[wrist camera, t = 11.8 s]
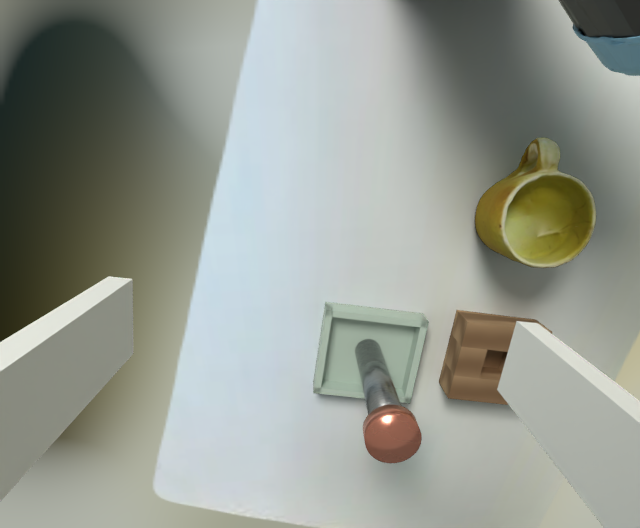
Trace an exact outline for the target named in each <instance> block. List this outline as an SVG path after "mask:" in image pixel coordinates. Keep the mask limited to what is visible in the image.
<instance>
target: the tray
mask: <svg viewBox="0 0 640 528" xmlns="http://www.w3.org/2000/svg"><path fill="white" fill-rule="evenodd" d="M428 323H429V322H428V320H427V319H426V317H425V316H424V315H423V314H421V313H413V312H404V311H396V310H388V309H380V308H371V307H363V306H355V305H346V304H338V303H330V302H325V308H324V315H323V322H322V328H321V335H320V341H319V348H318V355H317V361H316V368H315V375H314V381H313V393H317V394H326V395H336V396H345V397H354V398H364V399H365V396H364V392H363V387H362V383H361V378H360V373H359V369H358V364H357V360H356V355H355V348H356V346H357V344H358V343H359V342H361V341H362V340H365V339H372V340H375V341H376V342H377V343H378V344H379V345H380V347H381V350H382V353H383V356H384V359H385V362H386V364H387V367H388V370H389V373H390V376H391V378H392V381H393V384H394V387H395V390H396V392H397V395H398V398H399V401H400V402H401V403H410V401H411V397H412V392H413V388H414V384H415V379H416V375H417V370H418V366H419V362H420V357H421V353H422V349H423V344H424V340H425V336H426V331H427V327H428Z"/></svg>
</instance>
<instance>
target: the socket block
mask: <svg viewBox="0 0 640 528" xmlns="http://www.w3.org/2000/svg"><path fill="white" fill-rule="evenodd" d="M516 321H522V322H531V323H538V324H540V325H541V326H542V327H544V328H545V329H546V330H547V331H549V332H550V333H551V334H552V331H550V330H549V329H548V328H546V327H545V326H543V325H542V324H541V323H539V322H538V321H537V320H534V319H526V318H518V317H510V316H501V315H493V314H485V313H477V312H469V311H460V310H457V311H456V315H455V319H454V323H453V327H452V331H451V335H450V339H449V343H448V347H447V351H446V355H445V359H444V363H443V367H442V371H441V375H440V379H439V383H440V385H441V387H442V388H443V390H444V392H445V394H446V395H447V397H448V398H450V399H459V400H469V401H478V402H487V403H496V404H505V405H509V404H508V403H507V402H506V401H505V399H504V398H503V397H502V395H501V394H500V393H499V392H498V390H497V388H498V385H499V381H500V378H501V374H502V371H503V367H504V364H505V360H506V357H507V353H508V350H509V346H510V343H511V339H512V336H513V332H514V329H515V325H516Z"/></svg>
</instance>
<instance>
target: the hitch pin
mask: <svg viewBox="0 0 640 528" xmlns="http://www.w3.org/2000/svg"><path fill="white" fill-rule="evenodd" d="M355 355H356V360H357V364H358V369H359V373H360V378H361V383H362V387H363V392H364V396H365V401H366V405H367V410H368V416H367V417H366V419H365V421H364V424H363V434H364V440H365V445H366V448H367V450H368V452H369V453H370V455H371V456H372V457H374V458H375V459H377V460H379V461H381V462H385V463H398V462H402V461H404V460H407V459H408V458H410V457H411V456H413V455H414V454H415V453H416V452H417V450H418V449H419V447H420V444H421V432H420V429H419V426H418V424H417V421H416V419H415V417H414V415H413V414H412V413H411V411H409V410H408V409H407V408H405V407H402V406H401V404H400V401H399V398H398V395H397V392H396V390H395V387H394V384H393V381H392V378H391V376H390V373H389V370H388V367H387V364H386V362H385V359H384V356H383V353H382V350H381V347H380V345H379V344H378V343H377V342H376V341H375V340H372V339H365V340H362V341H361V342H359V343H358V344H357V346H356V348H355Z"/></svg>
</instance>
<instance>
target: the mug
mask: <svg viewBox="0 0 640 528" xmlns="http://www.w3.org/2000/svg"><path fill="white" fill-rule="evenodd" d="M559 160H560V148H559V147H558V146H557V144H556V142H554V141H552V140H550V139H549V138H536V139H535V140H534V141H532V142H531V143H530V145H529V146H528V147H527V148H526V151H525V153H524V155H523V156H522V159H521V162H520V164H519V167H518V168H517V170H515V171H514V172H513V173H511V174H510V175H509V176H507V177H506V178H504V179H503V180H501V181H499V182H497V183H496V184H495V185H493V186H492V187H491V188H489V189H488V190H487V191H486V192H485V193H484V194H483V196H482V197H481V199H480V201H479V203H478V205H477V209H476V215H475V225H476V230H477V233H478V235H479V237H480V239H481V240H482V241H483V242H484V244H485V245H486V246H487V247H489V248H490V249H492V250H493V251H495V252H497V253H499V254H501V255H503V256H506V257H507V258H509V259H511V260H514V261H517V262H520V263H522V264H525V265H527V266H530V267H537V268H549V267H551V268H553V267H557V266H560V265H562V264H564V263H567V262H569V261H571V260H573V259H574V258H575V257H576V256H578V255H579V254H580V252H581V251H582V250H583V249H584V248H585V247H586V245H587V244H588V242H589V240H590V238H591V236H592V234H593V230H594V227H595V223H596V208H595V202H594V198H593V196H592V194H591V192H590V191H589V189H588V188H587V187H586V185H585V184H584V183H583V182H581V181H580V180H579V179H577V178H576V177H573V176H571V175H568V174H565V173H561V172H559V171H558V163H559Z"/></svg>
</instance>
